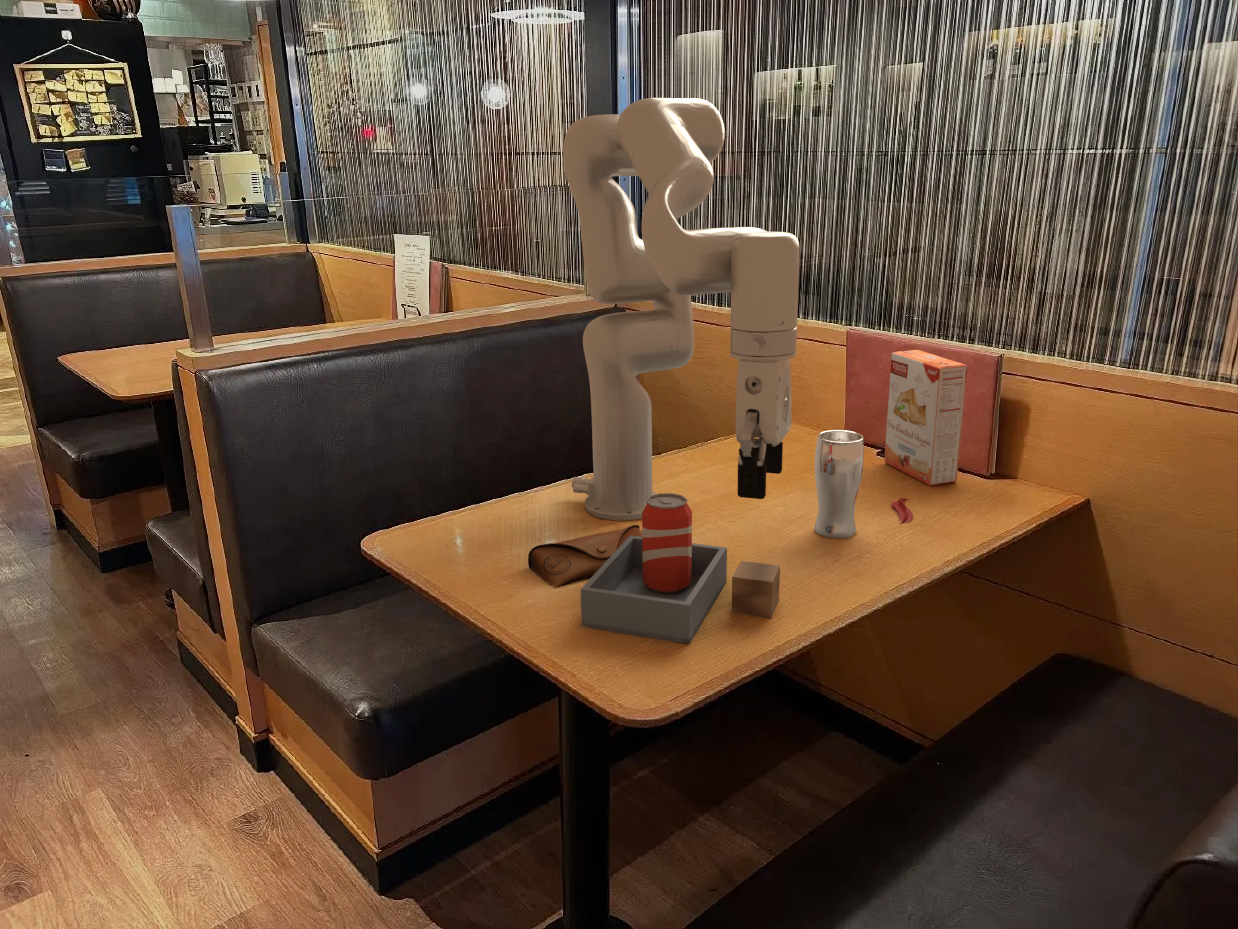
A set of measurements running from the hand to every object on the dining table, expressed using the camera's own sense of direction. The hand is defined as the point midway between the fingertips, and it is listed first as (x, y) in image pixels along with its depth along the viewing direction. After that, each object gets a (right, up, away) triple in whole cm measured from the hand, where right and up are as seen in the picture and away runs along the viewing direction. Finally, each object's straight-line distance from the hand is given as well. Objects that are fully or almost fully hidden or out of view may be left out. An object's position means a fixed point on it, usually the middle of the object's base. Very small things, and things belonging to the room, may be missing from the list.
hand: (760, 484), depth 111 cm
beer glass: (+16, -8, +28) cm, 33 cm away
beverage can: (-11, -14, +10) cm, 20 cm away
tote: (-12, -15, +7) cm, 21 cm away
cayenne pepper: (+28, -6, +36) cm, 46 cm away
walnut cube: (0, -16, +5) cm, 17 cm away
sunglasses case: (-20, -12, +19) cm, 30 cm away
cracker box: (+36, +1, +53) cm, 64 cm away
